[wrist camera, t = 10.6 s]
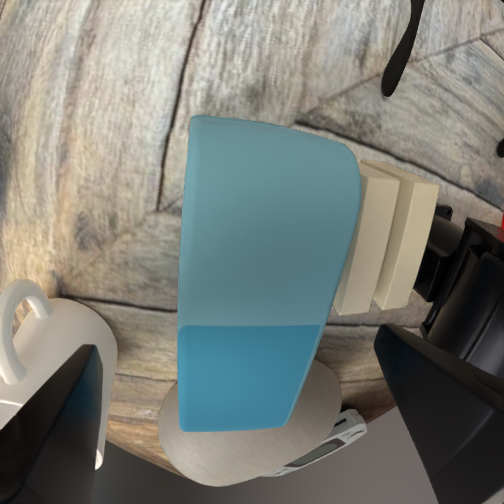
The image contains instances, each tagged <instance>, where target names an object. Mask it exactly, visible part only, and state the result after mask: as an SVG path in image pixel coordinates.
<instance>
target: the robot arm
mask: <svg viewBox="0 0 504 504" xmlns="http://www.w3.org/2000/svg"><path fill="white" fill-rule="evenodd" d="M447 211H448V212H447ZM452 212H453V210H452V208H451V207H450V206H447V205H438V204H436V207H435V211H434V216H433V220H432V224H431V228H430V232H429V236H428V239H427V243H426V247H425V250H424V254H423V257H422V261H421V264H420V267H419V271H418V274H417V277H416V280H415V283H414V286H413V289H414V290H415V291H416V292H417V293H418V294H419V295H420V296H421V297H422V298H423V299H424V300H425V301H426V302H431V303H433V305H432V307H431V309H430V311H429V313H428V315H427V317H426V319H425V321H424V322H422V324H421V326H420V328H419V329H420V331H421V334H422V336H423V338H424V339H423V338H421V337H419V336H417V335H415V334H413V333H411V332H409V331H407V330H405V329H403V328H402V327H400V326H398V325H396V324H394V323H385V324H381V326H380V327H379V330H378V332H377V335H376V338H375V341H374V350H375V353H376V355H377V358H378V361H379V364H380V366H381V369H382V372H383V375H384V377H385V380H386V383H387V385H388V387H389V390H390V392H391V394H392V396H393V398H394V400H395V402H396V405H397V407H398V409H399V411H400V413H401V415H402V417H403V420H404V422H405V424H406V426H407V429H408V431H409V433H410V435H411V437H412V440H413V442H414V444H415V447H416V449H417V451H418V454H419V456H420V458H421V461H422V463H423V465H424V468H425V470H426V473H427V475H428V477H429V479H430V482H431V485H432V488H433V490H434V493H435V495H436V498H437V500H438V503H439V504H482V503H483V502H484V504H504V229H503V228H501V227H499V226H496V225H493V224H490V223H486V222H483V221H480V220H477V219H473V218H470V217H467V218H466V221H465V228H464V230H463V229H462V228H460V227H458V226H457V225H455V224H453V223H452V222H450V221H451V217H452ZM102 385H103V364H102V361H101V358H100V355H99V352H98V348H97V346H96V345H94V344H83V345H81V346H80V347H79V348H78V349H77V350H76V351H75V352H74V353H73V354H72V355H71V356H70V357H69V358H68V359H67V360H66V361H65V362H64V363H63V364H62V365H61V366H60V367H59V368H58V369H57V370H56V371H55V373H54V374H53V375H52V376H51V377H50V378H49V379H48V380H47V381H46V382H45V383H44V384H43V385H42V386H41V387H40V388H39V389H38V390H37V391H36V392H35V393H34V394H33V396H32V397H31V398H30V399H29V400H28V401H27V402H26V403H25V404H24V405H23V406H22V407H21V408H20V410H19V411H18V412H17V413H16V415H14V416H13V417H12V418H11V419H10V420H9V421H8V423H7V424H6V425H5V426H4V427H3V428H2V429H1V430H0V504H93V492H94V477H95V465H96V455H97V446H98V437H99V429H100V422H101V411H102Z"/></svg>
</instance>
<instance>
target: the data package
mask: <svg viewBox="0 0 504 504" xmlns="http://www.w3.org/2000/svg"><path fill="white" fill-rule="evenodd" d="M360 203H361V176H360V170H359V167H358V163H357V161H356V158H355V156H354V155H353V153H352V152H351V150H350V149H349V148H348V147H347V146H345V145H344V144H342V143H340V142H337V141H333V140H330V139H327V138H323V137H320V136H316V135H313V134H309V133H306V132H302V131H298V130H294V129H291V128H287V127H283V126H279V125H275V124H271V123H264V122H257V121H250V120H242V119H234V118H225V117H215V116H205V115H194V116H193V117H192V118H191V125H190V133H189V142H188V151H187V161H186V171H185V182H184V194H183V207H182V221H181V237H180V255H179V279H178V319H177V368H178V408H179V427H180V429H181V430H182V431H184V432H221V431H242V430H256V429H268V428H278V427H283V426H285V425H286V424H287V423H288V422H289V420H290V418H291V416H292V413H293V411H294V408H295V406H296V404H297V401H298V399H299V396H300V394H301V391H302V388H303V386H304V383H305V381H306V378H307V375H308V373H309V370H310V368H311V365H312V362H313V359H314V357H315V354H316V351H317V348H318V346H319V343H320V340H321V337H322V334H323V331H324V328H325V325H326V322H327V319H328V316H329V313H330V310H331V307H332V304H333V301H334V298H335V295H336V292H337V288H338V285H339V282H340V279H341V275H342V272H343V269H344V265H345V262H346V258H347V255H348V251H349V248H350V244H351V240H352V237H353V233H354V229H355V226H356V222H357V218H358V214H359V209H360Z"/></svg>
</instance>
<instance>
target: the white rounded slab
mask: <svg viewBox="0 0 504 504" xmlns="http://www.w3.org/2000/svg"><path fill="white" fill-rule="evenodd" d="M341 403H342V394H341V387H340V383H339V380H338V378H337V376H336V375H335V374H334V372H333V371H332V370H331V369H329V368H328V367H327V366H326V365H324V364H323V363H321V362H320V361H318V360H316V359H313V362H312V365H311V368H310V370H309V373H308V375H307V378H306V381H305V383H304V386H303V388H302V391H301V394H300V396H299V399H298V401H297V404H296V406H295V408H294V411H293V413H292V416H291V418H290V420H289V422H288V423H287V424H286V425H285V426H283V427H278V428H268V429H256V430H242V431H221V432H184V431H182V430H181V429H180V427H179V408H178V383H177V384H176V385H174V386H173V388H172V389H171V390H170V391H169V392H168V394H167V395H166V397H165V399H164V401H163V403H162V406H161V409H160V411H159V416H158V420H157V429H158V436H159V440H160V444H161V447H162V449H163V451H164V453H165V455H166V456H167V458H168V460H169V461H170V463H171V464H172V465H173V466H174V467H175V468H176V469H177V470H179V471H180V472H181V473H182V474H183V475H185V476H186V477H188V478H190V479H192V480H194V481H196V482H199V483H201V484H205V485H210V486H227V485H231V484H236V483H239V482H243V481H246V480H249V479H253V478H256V477H258V476H261V475H264V474H267V473H269V472H271V471H274V470H276V469H278V468H280V467H283V466H285V465H287V464H289V463H290V462H292V461H294V460H296V459H298V458H300V457H302V456H304V455H305V454H307V453H309V452H310V451H312V450H313V449H314V448H316V447H317V446H318V445H320V444H321V443H322V442H323V441H324V439H325V438H326V437H327V436H328V435H329V433H330V432H331V430H332V428H333V427H334V425H335V423H336V421H337V418H338V416H339V413H340V410H341Z"/></svg>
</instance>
